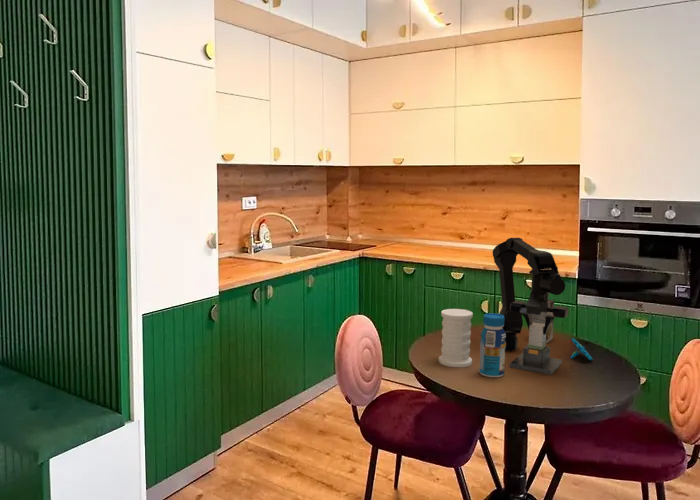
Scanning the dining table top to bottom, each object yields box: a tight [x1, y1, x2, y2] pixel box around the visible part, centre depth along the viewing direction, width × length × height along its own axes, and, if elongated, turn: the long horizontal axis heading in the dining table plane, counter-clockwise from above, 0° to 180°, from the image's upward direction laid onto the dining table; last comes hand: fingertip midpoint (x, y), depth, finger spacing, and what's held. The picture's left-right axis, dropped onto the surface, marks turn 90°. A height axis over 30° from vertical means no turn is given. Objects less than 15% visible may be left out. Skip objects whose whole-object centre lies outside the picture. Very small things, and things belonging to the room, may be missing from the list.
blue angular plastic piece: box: [570, 337, 594, 361], centre depth 225 cm, size 11×6×10 cm
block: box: [527, 323, 547, 351], centre depth 215 cm, size 5×5×9 cm
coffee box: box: [532, 298, 555, 344], centre depth 247 cm, size 9×6×16 cm
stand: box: [509, 344, 562, 376], centre depth 216 cm, size 14×14×7 cm
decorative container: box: [438, 308, 474, 368], centre depth 218 cm, size 12×12×18 cm
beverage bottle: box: [478, 312, 506, 378], centre depth 206 cm, size 8×8×20 cm
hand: (537, 333), depth 215 cm, fingers closed on block, 5 cm apart
